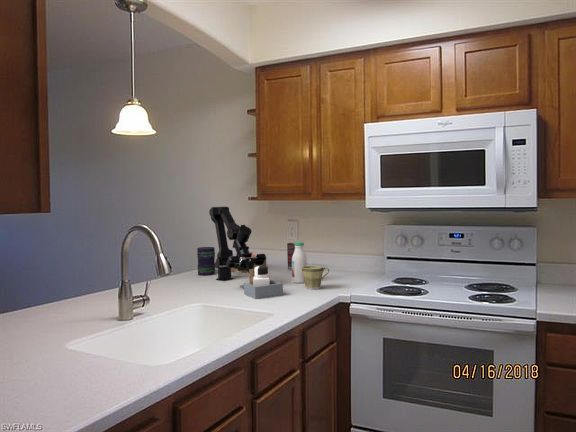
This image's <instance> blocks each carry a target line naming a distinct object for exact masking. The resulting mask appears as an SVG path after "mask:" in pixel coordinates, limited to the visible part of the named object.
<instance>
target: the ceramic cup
mask: <svg viewBox="0 0 576 432" xmlns="http://www.w3.org/2000/svg"><path fill="white" fill-rule="evenodd" d="M325 270H327V272H326V273H325V274H324V275H323V272H324V271H325ZM302 272H303V276H304V281H305V283H304V285H305V289H306V290H310V291H311V290H312V291H314V290H319V289H321V285H322V280H323V279H324V278H325V277H326V276H327V275H328V274H329V272H330V268H328V267H324V266H322V265H307V266H303V267H302Z"/></svg>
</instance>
